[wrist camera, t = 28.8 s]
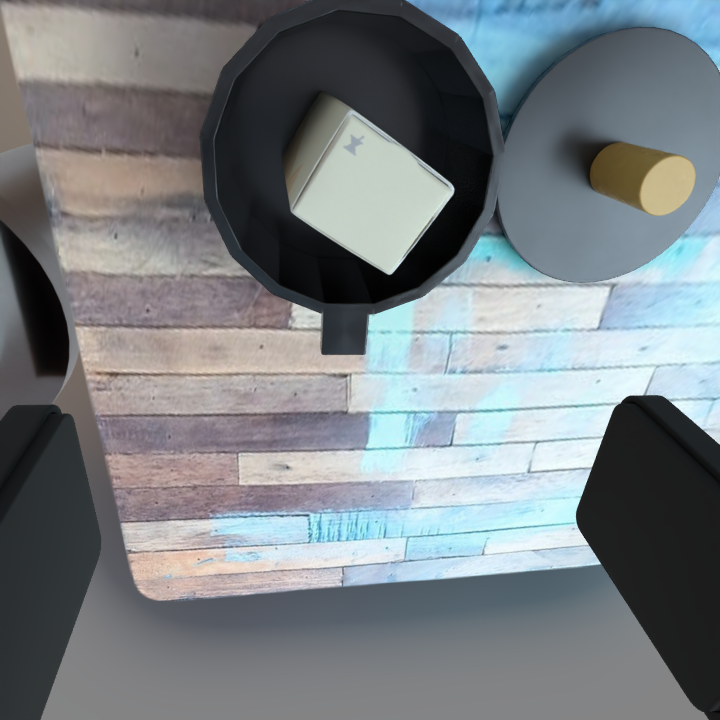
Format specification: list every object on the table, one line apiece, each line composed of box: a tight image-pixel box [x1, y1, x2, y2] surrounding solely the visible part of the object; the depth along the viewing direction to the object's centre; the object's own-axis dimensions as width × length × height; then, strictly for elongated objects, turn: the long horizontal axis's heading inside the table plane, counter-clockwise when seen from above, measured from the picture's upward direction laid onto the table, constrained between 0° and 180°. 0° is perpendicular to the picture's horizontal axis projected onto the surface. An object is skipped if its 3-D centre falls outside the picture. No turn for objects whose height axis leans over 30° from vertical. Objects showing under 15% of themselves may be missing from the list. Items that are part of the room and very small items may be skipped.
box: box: [282, 91, 454, 275], centre depth 24 cm, size 5×4×11 cm
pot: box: [200, 0, 505, 355], centre depth 26 cm, size 13×19×8 cm
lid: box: [496, 27, 720, 283], centre depth 29 cm, size 14×14×6 cm
